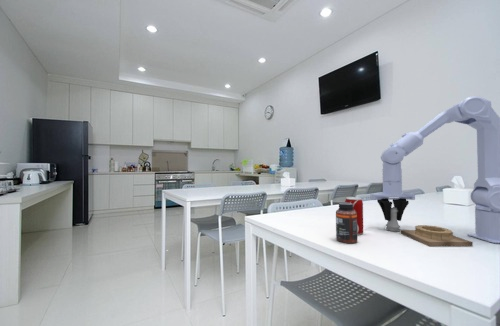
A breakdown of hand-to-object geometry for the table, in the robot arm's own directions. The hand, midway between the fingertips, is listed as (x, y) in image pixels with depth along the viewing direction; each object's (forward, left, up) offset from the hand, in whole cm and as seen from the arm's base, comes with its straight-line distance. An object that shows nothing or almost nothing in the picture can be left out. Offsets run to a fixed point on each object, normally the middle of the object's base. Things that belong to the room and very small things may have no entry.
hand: (392, 220), depth 78 cm
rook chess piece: (0, 0, -4) cm, 4 cm away
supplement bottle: (+21, +11, -4) cm, 24 cm away
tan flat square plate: (-6, +10, -3) cm, 12 cm away
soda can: (+15, +3, -4) cm, 16 cm away
